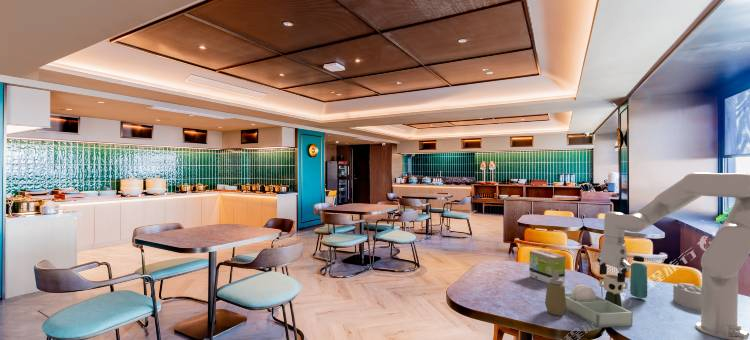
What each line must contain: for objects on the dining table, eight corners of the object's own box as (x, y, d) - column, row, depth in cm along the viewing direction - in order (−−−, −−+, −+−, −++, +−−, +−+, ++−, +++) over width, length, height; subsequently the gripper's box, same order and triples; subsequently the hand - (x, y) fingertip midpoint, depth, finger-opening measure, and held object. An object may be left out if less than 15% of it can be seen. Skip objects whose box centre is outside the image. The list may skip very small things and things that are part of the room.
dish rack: (632, 325, 133) (632, 312, 133) (597, 327, 130) (598, 314, 130) (589, 303, 154) (589, 292, 154) (558, 304, 152) (559, 293, 152)
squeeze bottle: (547, 307, 149) (547, 266, 149) (568, 312, 144) (568, 270, 144) (542, 313, 143) (543, 270, 142) (564, 319, 137) (565, 274, 137)
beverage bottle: (650, 302, 156) (651, 258, 156) (634, 300, 158) (634, 257, 158) (642, 296, 163) (643, 255, 163) (626, 295, 164) (627, 254, 164)
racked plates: (595, 307, 147) (595, 286, 147) (576, 308, 145) (577, 287, 145) (589, 304, 150) (590, 284, 150) (571, 305, 149) (571, 285, 149)
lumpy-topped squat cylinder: (697, 301, 159) (697, 282, 159) (715, 312, 146) (715, 292, 146) (669, 298, 162) (670, 280, 162) (685, 308, 149) (685, 289, 149)
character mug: (602, 307, 150) (602, 277, 150) (596, 301, 156) (596, 273, 156) (631, 310, 147) (631, 280, 147) (623, 304, 154) (624, 275, 153)
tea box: (528, 277, 191) (528, 250, 191) (541, 275, 195) (541, 249, 195) (552, 285, 177) (553, 257, 177) (565, 283, 181) (566, 255, 181)
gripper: (638, 244, 144) (636, 284, 144) (605, 235, 161) (603, 271, 161) (623, 244, 142) (620, 285, 143) (591, 235, 160) (589, 271, 160)
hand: (611, 278), depth 152 cm, fingers open, 9 cm apart
